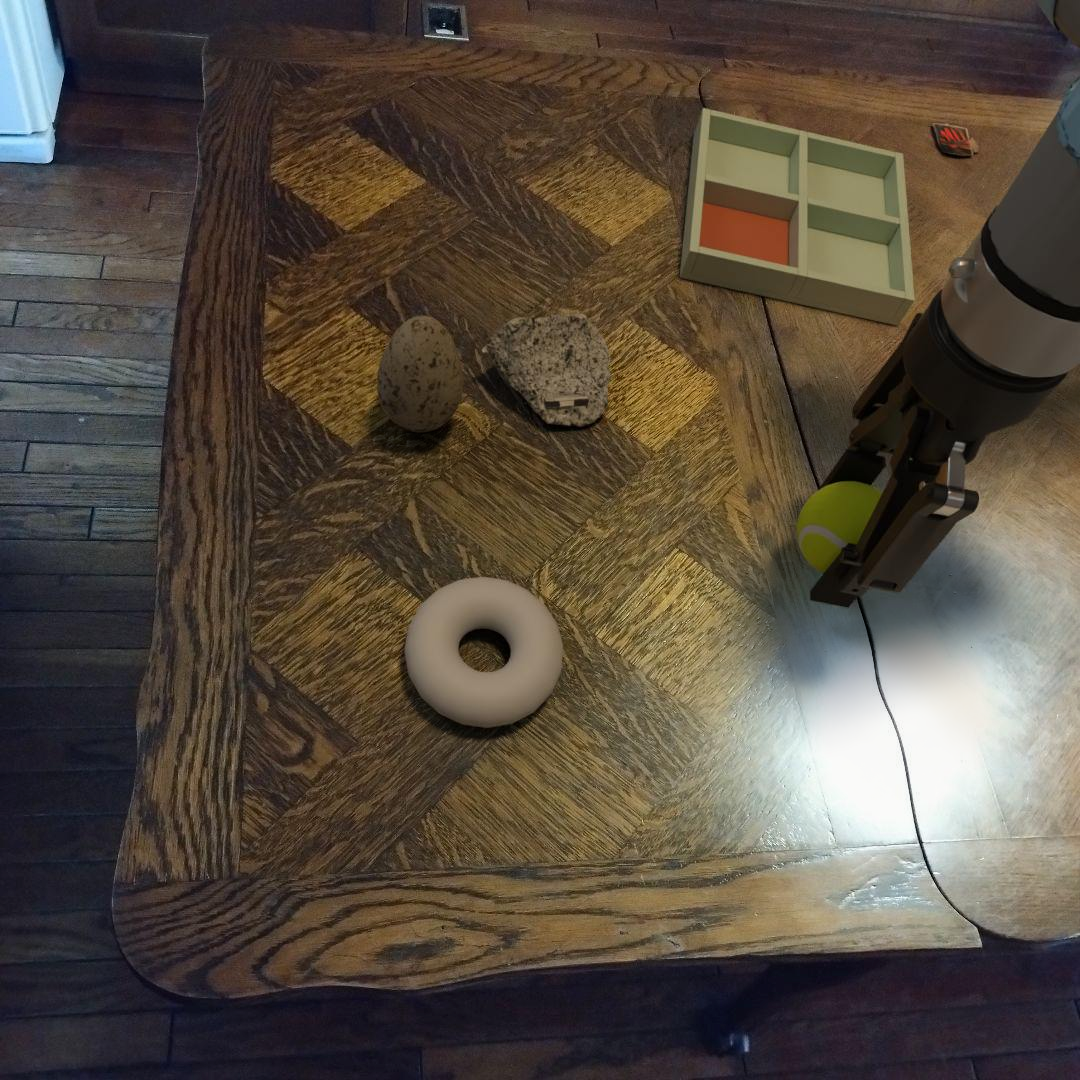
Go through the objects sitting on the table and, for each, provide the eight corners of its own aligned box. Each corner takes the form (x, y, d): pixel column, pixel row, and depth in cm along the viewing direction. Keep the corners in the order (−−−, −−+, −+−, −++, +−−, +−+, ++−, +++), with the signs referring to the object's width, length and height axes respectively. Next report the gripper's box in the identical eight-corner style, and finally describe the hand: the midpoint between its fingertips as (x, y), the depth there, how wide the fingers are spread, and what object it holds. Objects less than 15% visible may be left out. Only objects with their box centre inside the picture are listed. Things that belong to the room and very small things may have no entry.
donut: (429, 575, 66) (382, 709, 60) (433, 548, 63) (383, 687, 58) (573, 617, 66) (538, 755, 60) (583, 592, 63) (547, 735, 58)
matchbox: (944, 158, 98) (946, 154, 98) (923, 124, 100) (925, 120, 100) (984, 156, 99) (986, 152, 99) (962, 123, 102) (964, 119, 101)
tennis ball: (893, 562, 70) (938, 512, 64) (835, 615, 67) (877, 568, 61) (822, 498, 72) (859, 444, 66) (763, 547, 69) (797, 495, 63)
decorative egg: (434, 463, 70) (443, 372, 62) (361, 428, 71) (360, 333, 62) (472, 407, 73) (486, 312, 65) (401, 374, 74) (406, 276, 66)
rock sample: (548, 435, 68) (550, 305, 67) (476, 430, 74) (475, 309, 72) (644, 430, 75) (647, 313, 74) (571, 425, 81) (573, 316, 79)
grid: (888, 180, 95) (903, 153, 92) (898, 326, 85) (915, 300, 82) (693, 135, 94) (702, 107, 91) (679, 277, 84) (689, 250, 81)
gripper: (922, 182, 54) (779, 432, 74) (948, 469, 44) (773, 670, 64) (1053, 211, 55) (875, 452, 74) (1108, 502, 44) (885, 692, 64)
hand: (828, 552), depth 69 cm, fingers closed on tennis ball, 7 cm apart
